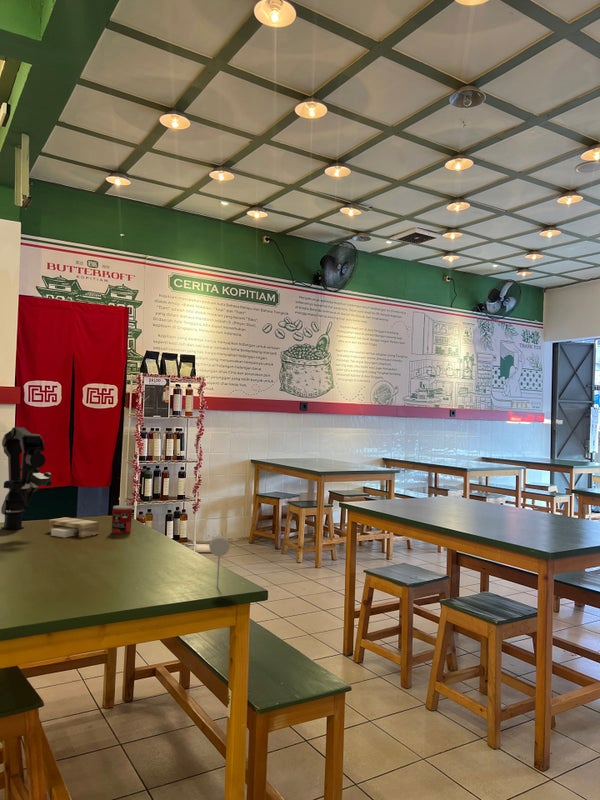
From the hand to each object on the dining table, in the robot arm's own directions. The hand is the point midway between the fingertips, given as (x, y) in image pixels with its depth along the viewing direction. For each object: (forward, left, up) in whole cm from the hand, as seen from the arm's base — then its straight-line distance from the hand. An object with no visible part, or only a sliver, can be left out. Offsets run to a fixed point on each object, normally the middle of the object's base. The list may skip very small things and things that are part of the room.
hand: (26, 505), depth 236 cm
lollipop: (+101, -21, -12) cm, 104 cm away
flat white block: (+10, +13, -12) cm, 20 cm away
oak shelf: (+10, +16, -12) cm, 22 cm away
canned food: (+24, +28, -12) cm, 39 cm away
